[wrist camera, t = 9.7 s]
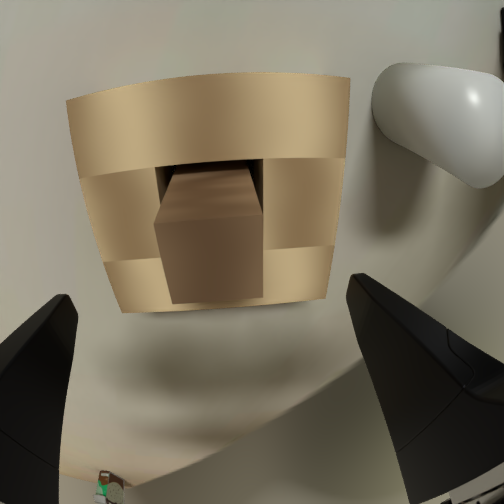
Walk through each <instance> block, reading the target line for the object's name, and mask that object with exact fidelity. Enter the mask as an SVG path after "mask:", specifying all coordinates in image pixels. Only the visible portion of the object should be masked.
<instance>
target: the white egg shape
mask: <svg viewBox="0 0 504 504" xmlns="http://www.w3.org/2000/svg"><path fill="white" fill-rule="evenodd" d="M372 111H373V116H374V119H375V121H376V123H377V125H378V127H379V129H380V130H381V131H382V133H383V134H384V135H385V136H386V137H387V138H388V139H390V140H391V141H393V142H395V143H397V144H399V145H401V146H403V147H405V148H407V149H408V150H410V151H412V152H414V153H416V154H418V155H420V156H421V157H423V158H425V159H427V160H428V161H430V162H432V163H434V164H435V165H437V166H439V167H441V168H442V169H444V170H446V171H447V172H449V173H450V174H452V175H454V176H455V177H457V178H458V179H460V180H462V181H463V182H465V183H466V184H468V185H469V186H471V187H474V188H486V187H489V186H491V185H493V184H495V183H496V182H497V181H498V180H500V178H501V177H502V176H503V175H504V83H503V82H502V81H501V80H500V79H499V78H498V77H496V76H494V75H492V74H488V73H483V72H478V71H472V70H467V69H460V68H453V67H446V66H437V65H427V64H415V63H397V64H394V65H391V66H389V67H388V68H386V69H385V70H384V71H383V72H382V73H381V74H380V75H379V77H378V78H377V80H376V82H375V85H374V87H373V92H372Z"/></svg>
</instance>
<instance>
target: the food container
mask: <svg viewBox="0 0 504 504" xmlns="http://www.w3.org/2000/svg"><path fill="white" fill-rule="evenodd" d="M93 496H94V500H95V502H96V503H98V504H125V501H124V479H122V478H121V477H119V476H117V475H115V474H113V473H112V472H110V471H100V473H99V479H98V484H97V490H96V495H93Z"/></svg>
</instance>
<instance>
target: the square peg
mask: <svg viewBox="0 0 504 504" xmlns="http://www.w3.org/2000/svg"><path fill="white" fill-rule="evenodd" d="M154 229H155V234H156V239H157V243H158V248H159V252H160V257H161V261H162V265H163V269H164V273H165V277H166V281H167V285H168V289H169V293H170V297H171V301H172V304H187V303H202V302H216V301H229V300H241V299H253V298H263V214H262V210H261V207H260V204H259V201H258V197H257V194H256V191H255V188H254V185H253V181H252V178H251V175H250V172H249V169H248V165H247V162H246V159H243V160H226V161H212V162H199V163H188V164H178V165H177V167H176V169H175V172H174V174H173V176H172V179H171V181H170V183H169V186H168V188H167V191H166V193H165V195H164V198H163V200H162V203H161V205H160V208H159V211H158V213H157V216H156V218H155V221H154Z"/></svg>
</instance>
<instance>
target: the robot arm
mask: <svg viewBox="0 0 504 504" xmlns="http://www.w3.org/2000/svg"><path fill="white" fill-rule="evenodd" d="M502 20H503V33H504V7H503V8H502ZM346 301H347V305H348V308H349V312H350V316H351V319H352V323H353V327H354V331H355V334H356V338H357V341H358V344H359V347H360V350H361V352H362V355H363V358H364V360H365V363H366V365H367V368H368V371H369V374H370V376H371V379H372V382H373V385H374V388H375V391H376V393H377V396H378V399H379V402H380V405H381V408H382V411H383V414H384V417H385V420H386V423H387V426H388V430H389V433H390V436H391V439H392V442H393V446H394V449H395V452H396V456H397V459H398V463H399V466H400V470H401V473H402V477H403V480H404V484H405V488H406V492H407V496H408V499H409V503H410V504H420V503H422V502H425V501H428V500H430V499H432V498H435V497H437V496H440V495H442V494H444V493H447V492H449V495H450V498H449V499H447V500H445V501H444V502H442V503H441V504H504V364H503V363H502V362H500V361H498V360H497V359H495V358H493V357H491V356H490V355H488V354H486V353H485V352H483V351H482V350H480V349H478V348H477V347H475V346H473V345H472V344H470V343H468V342H467V341H465V340H464V339H462V338H461V337H460V336H458V335H457V334H455V333H453V332H452V331H451V330H449V329H446V327H445V326H444V325H442V324H441V323H439V322H438V321H436V320H435V319H433V318H432V317H430V316H429V315H427V314H426V313H424V312H423V311H421V310H420V309H419V308H417V307H416V306H414V305H413V304H411V303H410V302H408V301H406V300H405V299H403V298H402V297H400V296H399V295H397V294H396V293H394V292H393V291H391V290H390V289H388V288H387V287H385V286H384V285H382V284H380V283H379V282H377V281H376V280H374V279H373V278H371V277H369V276H368V275H366V274H365V273H357V274H352V275H351V277H350V280H349V284H348V289H347V293H346ZM77 324H78V313H77V311H76V309H75V307H74V305H73V302H72V300H71V298H70V296H69V295H67V294H58V295H56V296H54V297H53V298H52V299H51V300H50V301H48V302H47V303H46V304H45V305H44V306H42V307H41V308H40V309H39V310H38V311H37V312H35V313H34V314H33V315H32V316H31V317H30V318H28V319H27V320H26V321H25V322H24V323H23V324H22V325H21V326H19V327H18V328H17V329H16V330H15V331H14V332H13V333H12V334H11V335H9V336H8V337H7V338H6V339H5V340H4V341H3V342H2V343H1V344H0V504H59V460H60V445H61V434H62V425H63V416H64V409H65V402H66V395H67V389H68V383H69V378H70V372H71V367H72V362H73V355H74V347H75V339H76V331H77Z"/></svg>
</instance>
